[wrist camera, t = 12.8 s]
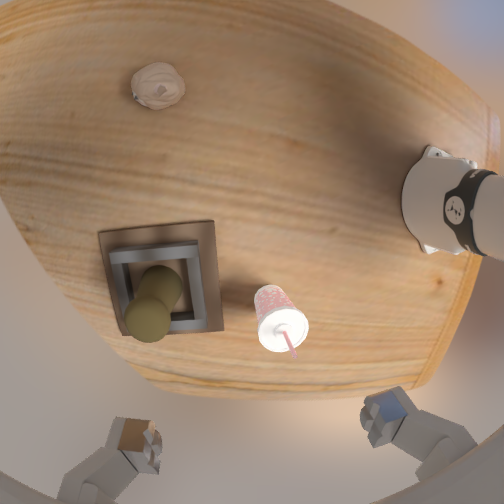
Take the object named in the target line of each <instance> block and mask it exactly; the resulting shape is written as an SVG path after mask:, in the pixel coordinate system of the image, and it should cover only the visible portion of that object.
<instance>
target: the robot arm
mask: <svg viewBox="0 0 504 504" xmlns="http://www.w3.org/2000/svg"><path fill="white" fill-rule="evenodd" d="M436 155H437V156H436ZM402 211H403V216H404V220H405V223H406V225H407V227H408V229H409V231H410V232H411V233H412V234H413V235H414V236H415V237H416V238H417V239H418V240H419V242H420V245H421V248H422V250H423V252H424V253H427V254H431V253H433V252H436V251H438V250H442V251H445V252H448V253H451V254H454V255H458V254H459V253H461V252H463V251H465V250H468V251H470V252H471V253H473V254H476V255H481V256H487V255H489V256H491V257H493V258H496V259H498V260H500V261H503V262H504V176H501V175H498V174H496V173H495V172H493V171H489V170H485V169H477V163H476V162H474V161H470V160H468V159H465V158H455V157H453V156H451V155H450V154H448V153H446V152H444V151H442V150H440V149H438V148H436V147H434V146H428V147H427V148H426V150H425V152H424V154H423V157H422V158H421V160H420V161H418V162H417V163H416V164H415V165H414V166H413V167H412V168H411V170H410V171H409V173H408V175H407V177H406V180H405V183H404V186H403V192H402ZM364 404H365V406H364V407H363V408H362V409H361V412H360V421H361V424H362V427H363V429H364V430H366V431H368V432H369V434H368V439H369V441H370V443H371V445H372V446H373V448H376V447H379V446H382V445H385V444H387V443H390V442H392V444H394V445H395V446H397V447H398V448H400V449H402V450H403V451H405V452H406V453H408V454H410V455H411V456H413V457H415V458H416V459H418V460H420V461H422V462H423V463H422V464H421V465H420V466H419V467H418V468H417V470H416V472H415V474H416V475H417V477H418V479H419V481H420V482H418V483H416V484H414V485H412V486H410V487H408V488H406V489H404V490H402V491H399V492H397V493H395V494H393V495H390V496H388V497H386V498H383V499H381V500H378V501H376V502H373V503H370V504H504V425H502V426H501V427H500V428H499V429H498V430H497V431H495V432H494V433H493V434H492V435H491V436H489V437H488V438H487V439H485V440H484V441H483V442H482V443H480V444H479V445H478V444H477V443H476V442H475V441H474V439H473V438H472V436H471V435H470V434H469V432H468V431H467V430H466V429H465V428H464V426H462V425H459V424H456V423H454V422H451V421H449V420H446V419H443V418H441V417H438V416H436V415H433V414H431V413H428V412H426V411H423V410H420V411H419V410H418V409H417V408H416V406H415V405H414V404H413V402H412V401H411V400H410V398H409V397H408V395H407V394H406V393H405V391H404V390H403V389H402V387H400V386H397V387H394V388H391V389H389V390H384V391H381V392H378V393H375V394H372V395H369V396H367V397H366V398H365V400H364ZM155 427H156V425H155V423H154V422H153V421H151V420H140V419H131V418H123V417H116V418H115V419H114V420H113V423H112V426H111V429H110V432H109V435H108V438H107V442H106V445H105V448H104V447H101V448H99V449H98V450H97V451H96V452H94V453H93V454H92V455H90V456H89V457H88V458H86V459H85V460H84V461H83V462H81V463H80V464H78V465H77V466H76V467H75V468H73V469H72V470H70V471H69V472H68V473H66V474H65V475H64V477H63V480H62V483H61V487H60V490H59V492H58V496H57V499H54V498H52V497H50V496H47V495H45V494H43V493H41V492H38V491H37V490H35V489H32V488H30V487H28V486H27V485H25V484H23V483H21V482H19V481H17V480H15V479H14V478H12V477H10V476H8V475H7V474H5V473H3V472H2V471H0V504H118V503H116V502H115V501H114V500H115V499H116V498H117V497H118V496H119V495H120V494H121V492H122V491H123V490H124V489H125V488H126V487H127V486H128V485H129V484H130V483H131V482H132V481H133V479H134V478H135V477H136V476H137V475H138V474H139V473H147V474H159V468H160V460H159V458H158V455H160V454H161V453H162V439H161V435H160V433H159V432H158V431H157V430H155Z"/></svg>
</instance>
